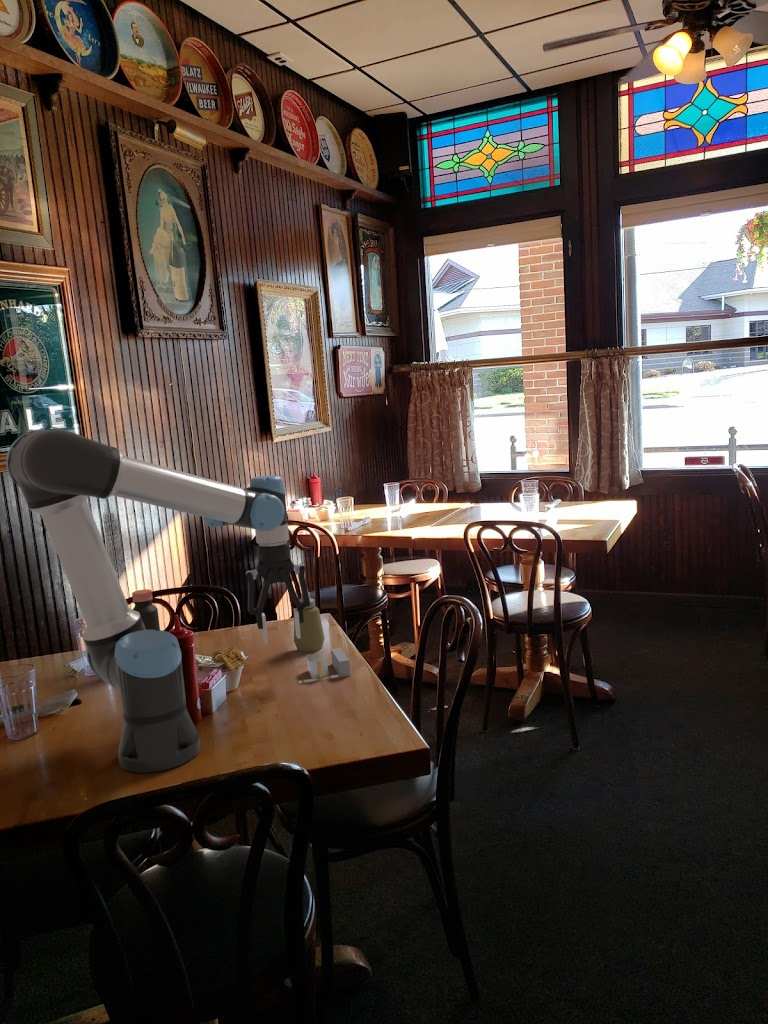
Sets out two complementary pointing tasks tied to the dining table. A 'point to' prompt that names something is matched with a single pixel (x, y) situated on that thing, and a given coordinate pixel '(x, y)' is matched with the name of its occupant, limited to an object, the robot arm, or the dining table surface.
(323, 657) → the gauge carriage
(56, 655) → the dining table surface
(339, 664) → the rail
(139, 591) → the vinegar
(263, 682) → the dining table surface
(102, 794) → the dining table surface
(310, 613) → the squeeze bottle
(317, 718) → the dining table surface
